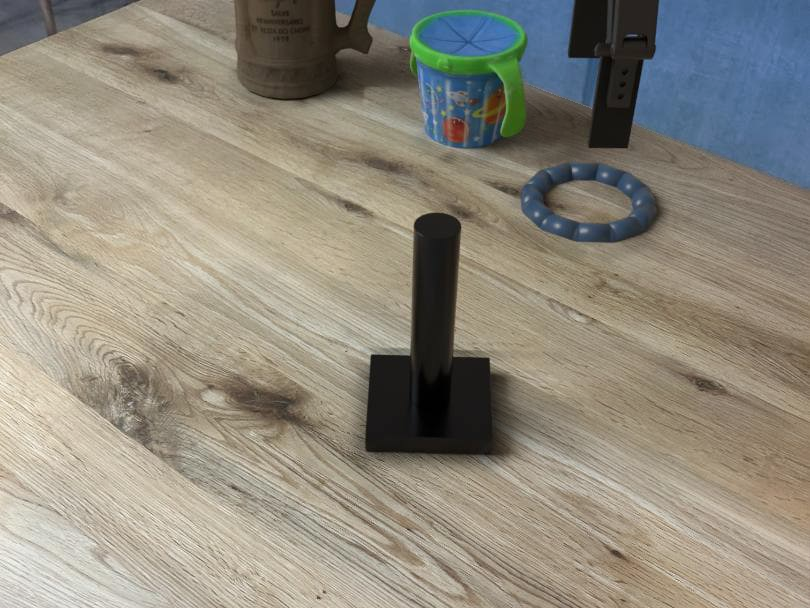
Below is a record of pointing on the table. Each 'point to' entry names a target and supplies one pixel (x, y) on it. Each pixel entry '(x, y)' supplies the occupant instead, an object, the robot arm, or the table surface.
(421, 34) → the snack cup
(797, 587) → the table surface
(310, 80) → the beer stein
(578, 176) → the ring
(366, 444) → the post
